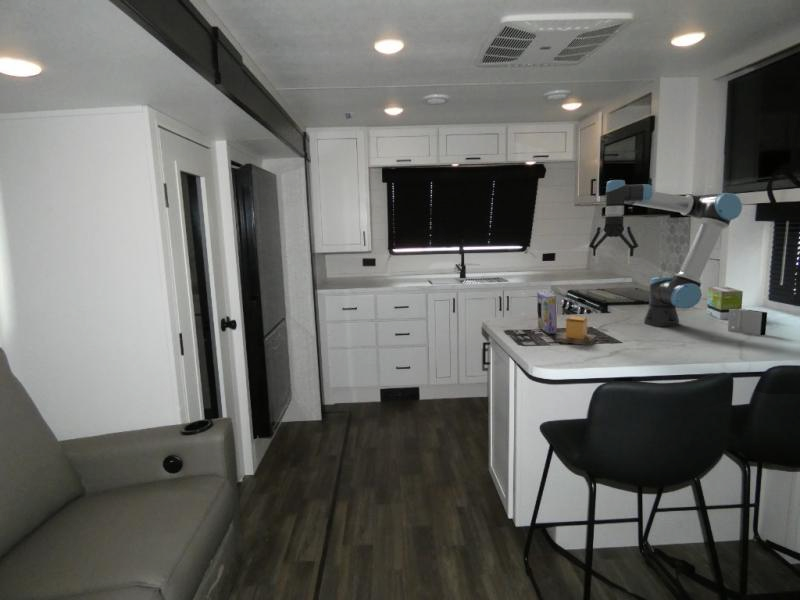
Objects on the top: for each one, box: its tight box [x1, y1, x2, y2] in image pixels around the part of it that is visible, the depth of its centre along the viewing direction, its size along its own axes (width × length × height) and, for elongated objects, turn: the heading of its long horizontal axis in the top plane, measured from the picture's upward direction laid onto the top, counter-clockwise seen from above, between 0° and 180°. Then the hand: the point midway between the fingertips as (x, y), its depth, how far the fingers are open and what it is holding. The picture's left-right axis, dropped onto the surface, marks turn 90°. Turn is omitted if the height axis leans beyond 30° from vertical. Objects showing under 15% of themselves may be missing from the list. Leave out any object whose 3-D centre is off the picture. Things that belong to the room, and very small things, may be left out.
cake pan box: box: [536, 290, 558, 334], centre depth 234 cm, size 19×5×18 cm, turn 178°
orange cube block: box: [565, 315, 588, 339], centre depth 212 cm, size 7×7×8 cm
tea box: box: [706, 286, 744, 320], centre depth 253 cm, size 15×10×15 cm
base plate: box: [555, 331, 597, 346], centre depth 212 cm, size 14×12×2 cm
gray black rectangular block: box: [727, 308, 768, 336], centre depth 218 cm, size 14×5×10 cm, turn 37°
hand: (612, 263), depth 222 cm, fingers open, 13 cm apart
